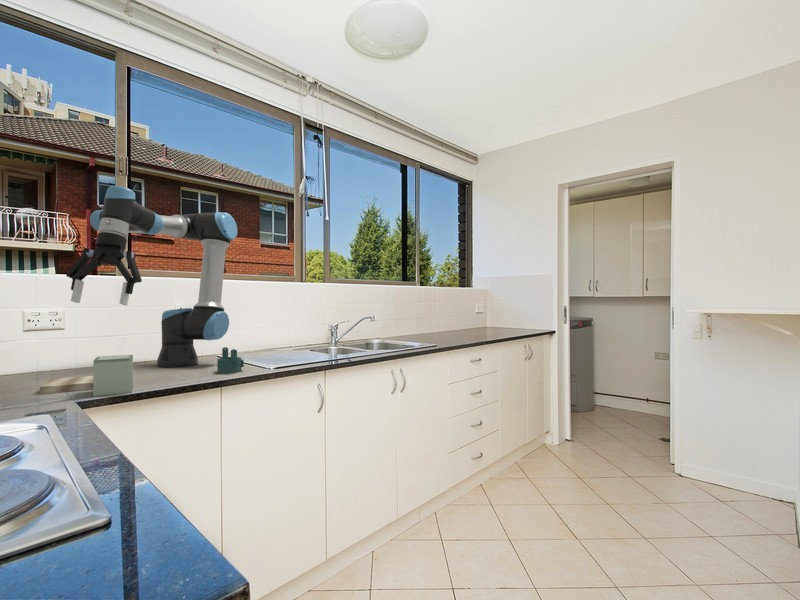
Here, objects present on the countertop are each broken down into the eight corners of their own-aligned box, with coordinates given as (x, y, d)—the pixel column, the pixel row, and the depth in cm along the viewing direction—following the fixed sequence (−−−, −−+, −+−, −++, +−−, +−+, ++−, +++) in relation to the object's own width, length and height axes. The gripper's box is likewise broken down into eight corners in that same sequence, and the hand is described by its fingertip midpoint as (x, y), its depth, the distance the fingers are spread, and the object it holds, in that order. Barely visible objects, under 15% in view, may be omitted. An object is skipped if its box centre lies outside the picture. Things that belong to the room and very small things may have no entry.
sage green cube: (132, 387, 128) (132, 354, 128) (131, 392, 120) (131, 358, 120) (97, 390, 124) (97, 356, 124) (93, 396, 116) (93, 360, 116)
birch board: (104, 380, 138) (104, 374, 138) (100, 388, 126) (99, 382, 126) (50, 385, 131) (50, 379, 131) (39, 394, 119) (39, 387, 119)
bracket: (234, 374, 150) (234, 349, 150) (211, 373, 152) (211, 349, 152) (247, 370, 159) (247, 347, 159) (225, 369, 161) (225, 346, 161)
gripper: (61, 228, 122) (45, 298, 118) (148, 233, 124) (136, 302, 120) (78, 237, 130) (64, 303, 125) (160, 242, 131) (149, 307, 127)
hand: (99, 303), depth 122 cm, fingers open, 13 cm apart
